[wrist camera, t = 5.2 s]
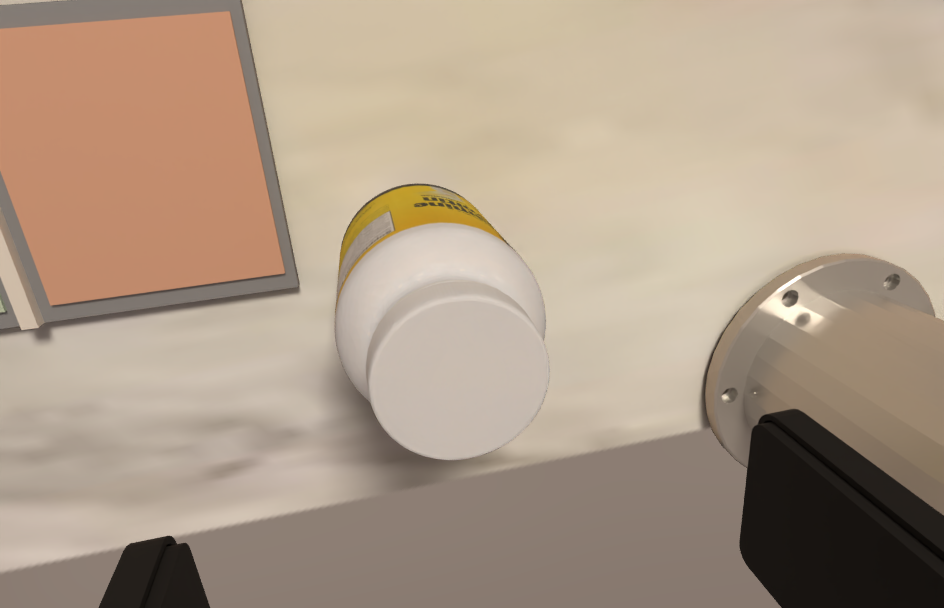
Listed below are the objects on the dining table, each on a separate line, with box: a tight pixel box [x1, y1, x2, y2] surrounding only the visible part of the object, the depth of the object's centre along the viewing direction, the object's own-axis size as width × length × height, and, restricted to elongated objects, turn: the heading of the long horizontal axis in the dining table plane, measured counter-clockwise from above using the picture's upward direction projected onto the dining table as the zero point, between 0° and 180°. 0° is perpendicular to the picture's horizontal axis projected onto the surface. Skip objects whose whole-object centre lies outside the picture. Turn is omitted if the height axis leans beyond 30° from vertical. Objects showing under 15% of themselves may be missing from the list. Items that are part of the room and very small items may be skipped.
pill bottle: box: [335, 183, 550, 460], centre depth 21 cm, size 6×6×12 cm
